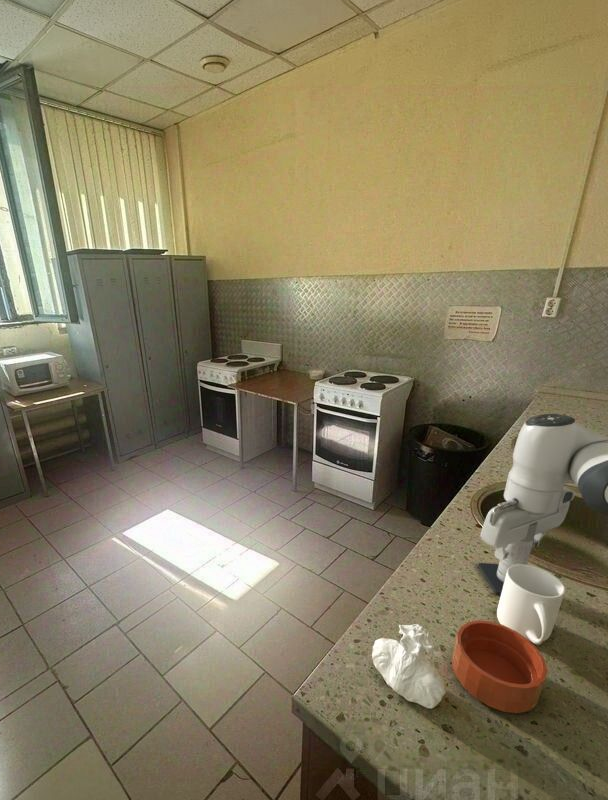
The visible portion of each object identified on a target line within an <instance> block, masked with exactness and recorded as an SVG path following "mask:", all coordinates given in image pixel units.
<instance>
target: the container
mask: <svg viewBox="0 0 608 800" xmlns="http://www.w3.org/2000/svg"><path fill="white" fill-rule="evenodd" d="M537 523H538V522H536V523H533V524H530V525H529V529H528V533H527V536H526V538H525V539H523V540H520V541H517V542H515V543H512V544H509V545H508V546H507V547H506V548H505V550H506V551H507V552H509V554H508V557H507V558H506V559H504V560H499V562H498V564H499V566H498V570H497V577H498V578H499V579H500V580H501V581H503V582H504V581H505V577H506V573H507V570H508V568H509V567H510V566H512V565H515V564H527V565H528V562H529V559H530V555H531V551H532V549H533V548H532V544H533V540H534V536H535V531H536V527H537Z"/></svg>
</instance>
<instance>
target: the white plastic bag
mask: <svg viewBox="0 0 608 800" xmlns="http://www.w3.org/2000/svg"><path fill="white" fill-rule="evenodd" d="M398 628H399V631H398V634H399V635H402V637H401V638H400V640H399V641H398V640H396V639H392V638H387V637H386V638H385V637H382V638H378V639H376V640H374V644H373V646H372V653H371V658H372V662H373V665H374V667H375V669H376V670H377V671H378V673H380V674H381V676H382V677H383V679H384V681H385V683H386V685H388V686H389V687H391V688H392V690H393V691H394V692H395V693H397V694H398V695H399V696H401V697H403V698H404V699H405V700H406V701H408V702H411V703H415V704H418V705H420V706H422V707H424V708H426V709H429V710H430V709H434V708H435V707H437V706H438V704H440V702H441V701H442V700H443V698H444V696H445V695H446V693H447V691H446V687H445V683H444V680H443V678H442V676H441V675H440V673H439V671H438V670H437V668H436V667H435V666H434V665H433V664H432V663H431V662H430V661H429V659H427V657H426V654H425V651H426V653H428V654H429V653H431V651H434V650H435V649H436V646H435V643H434V641H433V640H432V635H431V632H430V631H429V630H427V629H426V628H424V626H421V625H419V624H418V623H414V624H399V625H398Z"/></svg>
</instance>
